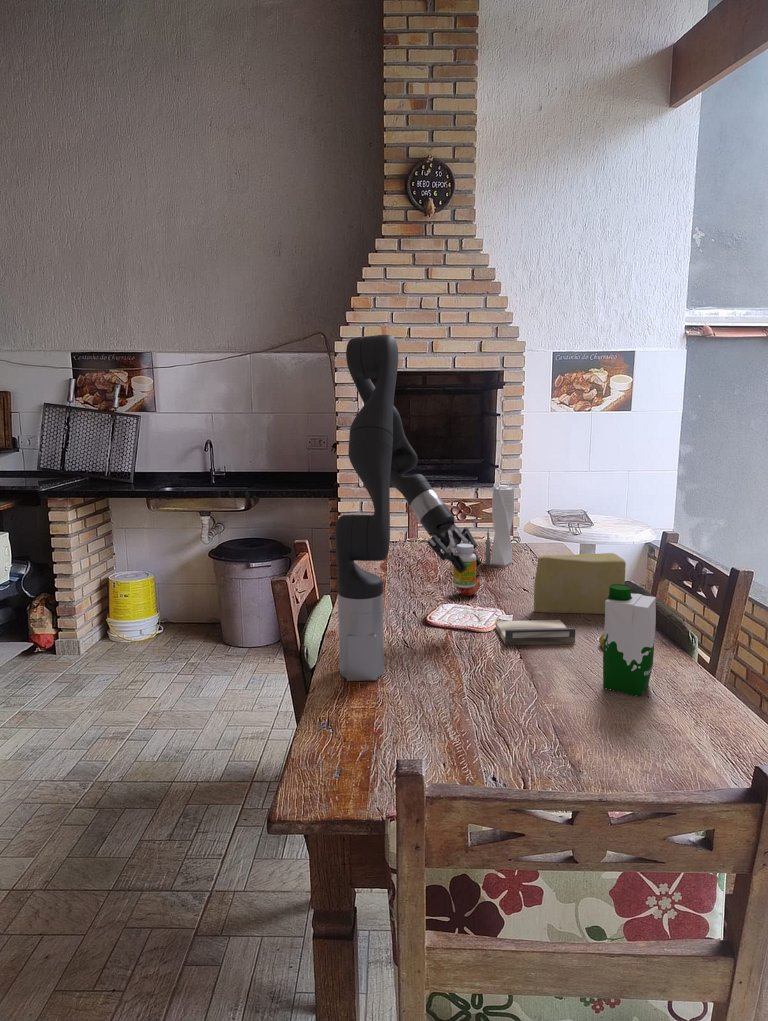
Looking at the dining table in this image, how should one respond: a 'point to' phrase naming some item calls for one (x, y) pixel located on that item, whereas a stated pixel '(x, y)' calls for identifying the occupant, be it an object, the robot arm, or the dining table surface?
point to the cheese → (576, 582)
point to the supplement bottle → (469, 559)
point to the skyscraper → (501, 526)
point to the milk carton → (628, 640)
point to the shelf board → (535, 632)
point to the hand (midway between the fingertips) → (471, 568)
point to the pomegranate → (470, 588)
